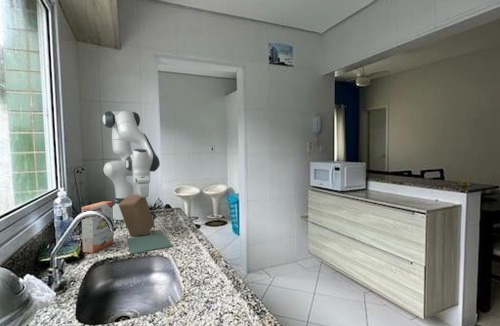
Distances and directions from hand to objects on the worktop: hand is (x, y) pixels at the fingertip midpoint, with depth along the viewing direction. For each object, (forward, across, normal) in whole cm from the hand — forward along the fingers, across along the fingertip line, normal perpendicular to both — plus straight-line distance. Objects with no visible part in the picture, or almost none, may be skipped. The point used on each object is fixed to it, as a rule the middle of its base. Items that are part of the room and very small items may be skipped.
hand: (142, 203), depth 145 cm
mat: (+17, +19, 0) cm, 25 cm away
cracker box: (+17, +12, -21) cm, 30 cm away
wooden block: (+15, +2, 0) cm, 15 cm away
